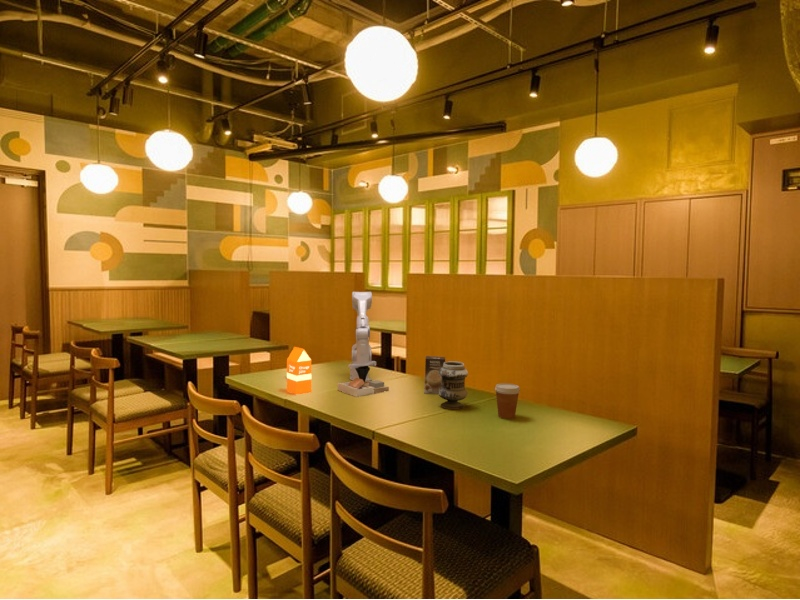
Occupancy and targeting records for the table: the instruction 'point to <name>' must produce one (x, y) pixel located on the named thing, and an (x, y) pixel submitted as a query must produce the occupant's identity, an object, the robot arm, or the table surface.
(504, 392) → the disposable coffee cup
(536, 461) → the table surface
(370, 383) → the tile slate
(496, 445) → the table surface
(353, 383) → the tile terracotta
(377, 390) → the board
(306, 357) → the orange juice
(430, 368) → the coffee box
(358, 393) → the tray
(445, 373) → the apothecary jar
